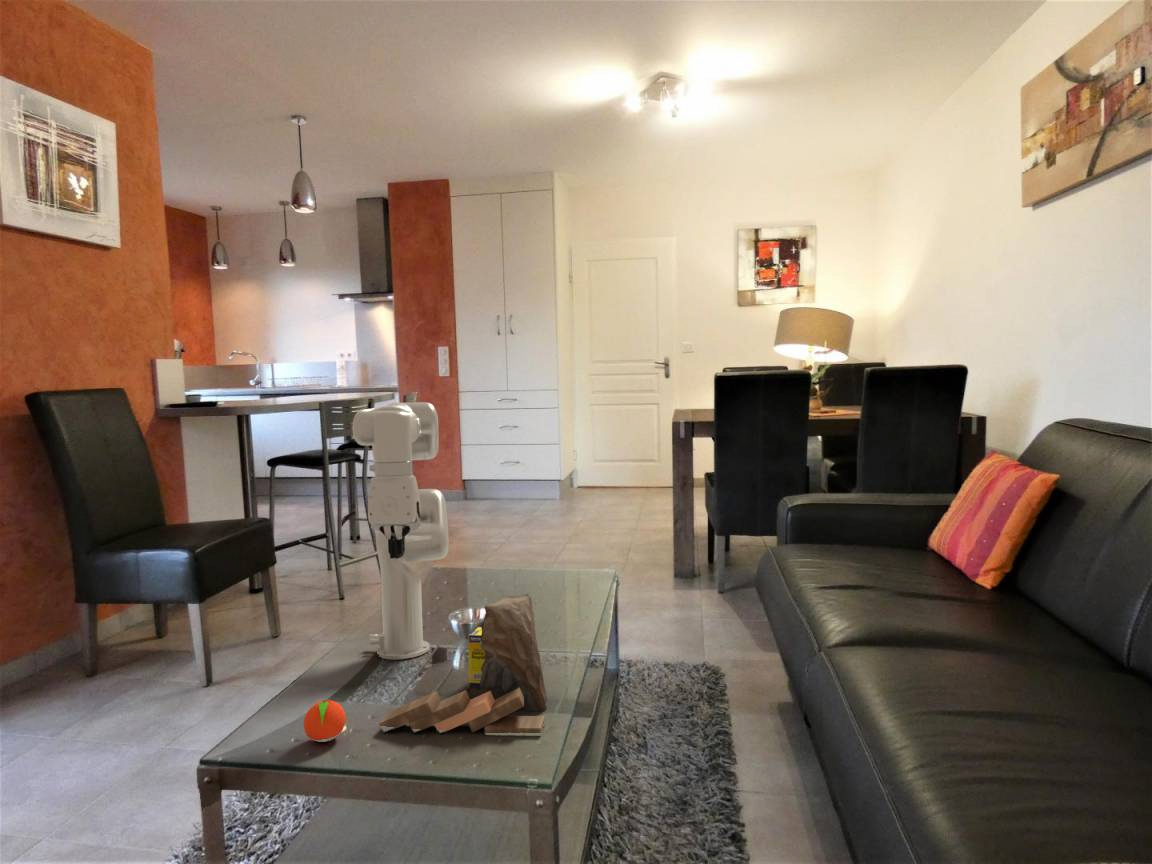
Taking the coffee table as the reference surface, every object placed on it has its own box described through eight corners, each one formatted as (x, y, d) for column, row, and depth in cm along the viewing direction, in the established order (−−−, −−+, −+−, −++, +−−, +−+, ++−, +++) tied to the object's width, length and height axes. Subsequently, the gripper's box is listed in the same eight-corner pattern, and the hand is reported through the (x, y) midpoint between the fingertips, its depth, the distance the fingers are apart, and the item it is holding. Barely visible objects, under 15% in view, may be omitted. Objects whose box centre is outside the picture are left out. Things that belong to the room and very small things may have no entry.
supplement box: (496, 688, 139) (494, 635, 139) (468, 686, 140) (467, 634, 140) (504, 677, 144) (503, 627, 144) (478, 676, 146) (477, 626, 146)
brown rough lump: (480, 715, 125) (477, 609, 125) (483, 690, 138) (480, 593, 138) (547, 710, 126) (543, 605, 126) (544, 685, 139) (540, 590, 139)
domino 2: (408, 723, 118) (459, 700, 117) (417, 711, 123) (465, 690, 122) (413, 733, 118) (463, 711, 117) (422, 721, 123) (470, 700, 122)
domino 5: (484, 727, 117) (540, 728, 116) (490, 715, 121) (544, 716, 121) (484, 739, 116) (541, 739, 116) (491, 726, 121) (545, 727, 121)
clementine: (344, 749, 113) (343, 707, 113) (301, 756, 111) (299, 713, 111) (347, 729, 121) (346, 690, 121) (306, 735, 119) (305, 696, 119)
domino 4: (467, 722, 117) (519, 696, 118) (470, 712, 122) (519, 687, 123) (472, 732, 117) (523, 706, 118) (474, 722, 122) (524, 697, 123)
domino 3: (446, 722, 123) (495, 700, 122) (439, 734, 118) (489, 712, 117) (442, 712, 123) (490, 690, 122) (434, 724, 118) (484, 701, 117)
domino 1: (378, 723, 119) (427, 702, 118) (389, 711, 124) (436, 691, 123) (383, 733, 119) (432, 712, 118) (394, 721, 124) (441, 701, 123)
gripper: (351, 472, 136) (355, 560, 137) (420, 471, 134) (423, 561, 134) (369, 469, 144) (372, 553, 144) (434, 468, 141) (437, 553, 142)
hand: (396, 557), depth 139 cm, fingers closed
